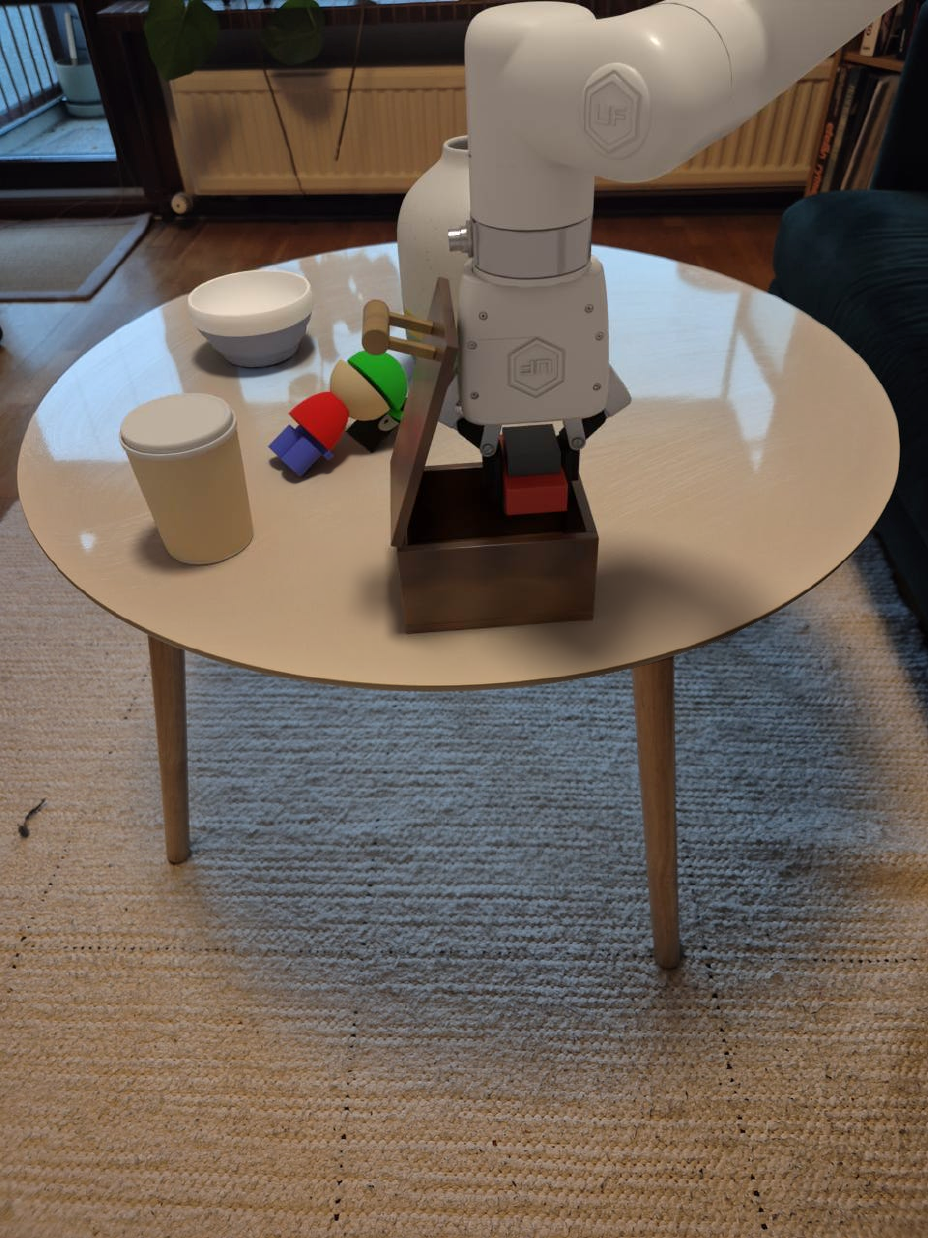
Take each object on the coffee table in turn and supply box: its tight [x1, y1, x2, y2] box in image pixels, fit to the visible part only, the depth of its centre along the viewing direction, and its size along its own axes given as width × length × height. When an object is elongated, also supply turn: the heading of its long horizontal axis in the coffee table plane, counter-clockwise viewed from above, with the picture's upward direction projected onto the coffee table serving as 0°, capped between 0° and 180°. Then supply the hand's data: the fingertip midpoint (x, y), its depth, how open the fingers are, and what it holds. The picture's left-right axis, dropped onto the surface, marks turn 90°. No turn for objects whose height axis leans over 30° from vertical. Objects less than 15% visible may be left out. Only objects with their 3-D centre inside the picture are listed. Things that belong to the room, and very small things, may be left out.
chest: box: [396, 461, 600, 634], centre depth 71 cm, size 15×12×8 cm
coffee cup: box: [118, 392, 254, 565], centre depth 75 cm, size 9×9×12 cm
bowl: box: [187, 269, 315, 368], centre depth 106 cm, size 14×14×8 cm
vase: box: [396, 134, 472, 370], centre depth 94 cm, size 17×17×24 cm
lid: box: [361, 277, 459, 548], centre depth 62 cm, size 15×12×6 cm
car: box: [499, 423, 568, 515], centre depth 66 cm, size 8×5×5 cm, turn 4°
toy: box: [267, 349, 409, 478], centre depth 88 cm, size 8×8×15 cm
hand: (530, 488), depth 67 cm, fingers closed on car, 4 cm apart
